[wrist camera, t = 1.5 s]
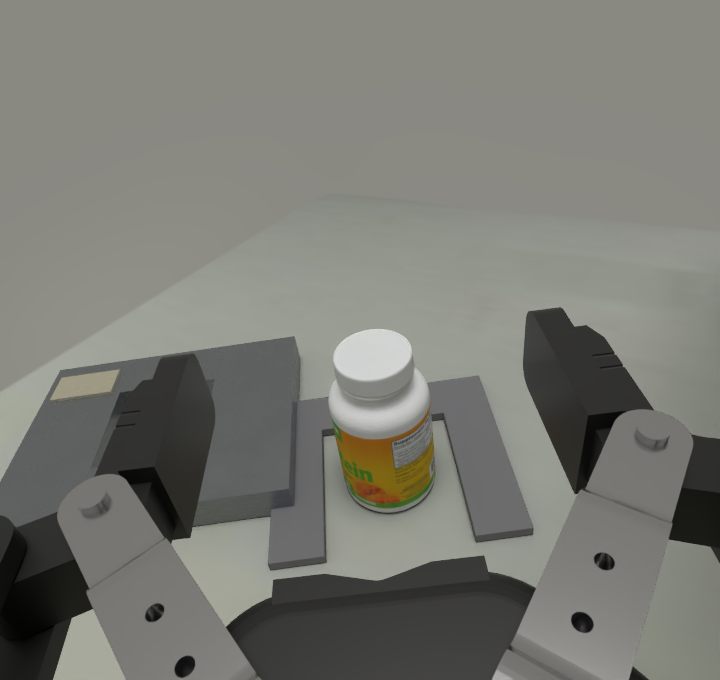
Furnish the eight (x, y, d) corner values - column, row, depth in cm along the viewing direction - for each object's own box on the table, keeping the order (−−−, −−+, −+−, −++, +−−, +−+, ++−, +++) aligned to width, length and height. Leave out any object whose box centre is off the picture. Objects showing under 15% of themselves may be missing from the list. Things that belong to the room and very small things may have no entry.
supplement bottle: (328, 475, 34) (297, 353, 28) (395, 429, 37) (379, 307, 31) (383, 533, 31) (361, 408, 25) (454, 478, 33) (450, 351, 27)
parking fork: (280, 410, 39) (278, 404, 39) (478, 382, 39) (478, 375, 39) (270, 570, 30) (267, 563, 29) (533, 534, 30) (533, 527, 29)
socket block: (300, 358, 44) (293, 334, 42) (296, 512, 32) (288, 486, 31) (73, 391, 44) (59, 368, 42) (-7, 554, 33) (-30, 530, 31)
